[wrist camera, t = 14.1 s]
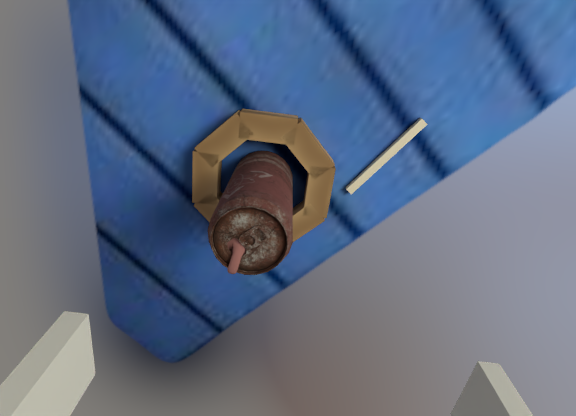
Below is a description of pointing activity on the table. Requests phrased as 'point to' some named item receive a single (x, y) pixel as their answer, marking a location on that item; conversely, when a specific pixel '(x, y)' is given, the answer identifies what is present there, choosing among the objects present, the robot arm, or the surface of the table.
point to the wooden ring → (273, 131)
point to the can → (254, 215)
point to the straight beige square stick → (386, 155)
